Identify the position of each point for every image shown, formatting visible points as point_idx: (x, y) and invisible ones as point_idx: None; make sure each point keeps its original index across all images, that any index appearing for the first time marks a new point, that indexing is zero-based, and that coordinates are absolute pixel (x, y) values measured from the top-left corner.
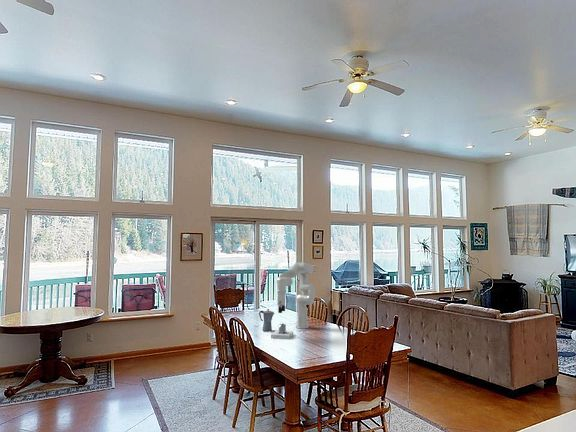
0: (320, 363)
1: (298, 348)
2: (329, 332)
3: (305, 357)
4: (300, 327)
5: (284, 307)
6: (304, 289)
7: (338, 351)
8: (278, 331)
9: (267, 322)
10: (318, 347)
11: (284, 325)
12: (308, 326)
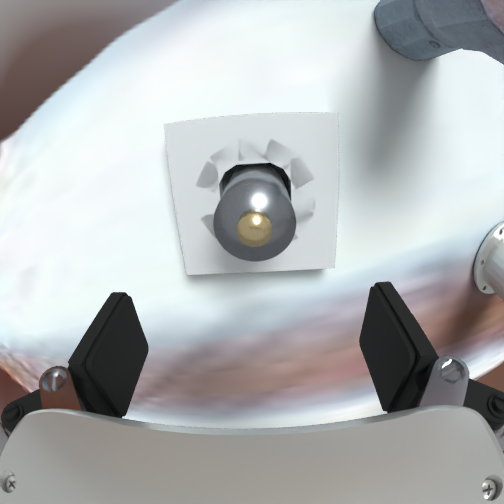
0: (24, 384)
1: (68, 337)
2: None
3: (24, 359)
4: (480, 258)
5: (381, 398)
6: None
7: None
8: (296, 148)
9: (418, 11)
10: None
11: (234, 255)
12: (490, 293)
